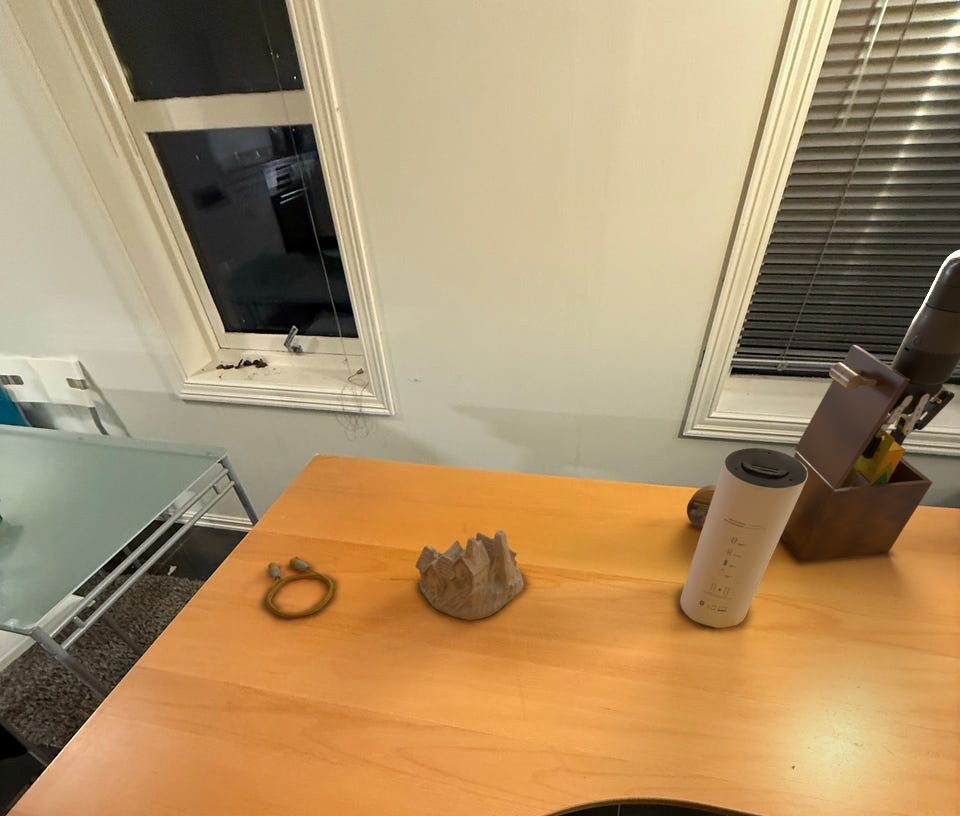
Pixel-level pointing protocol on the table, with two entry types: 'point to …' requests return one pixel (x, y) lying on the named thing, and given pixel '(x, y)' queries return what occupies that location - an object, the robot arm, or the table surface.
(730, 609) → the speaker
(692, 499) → the tin
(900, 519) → the chest
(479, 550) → the ceramic cottage
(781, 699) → the table surface
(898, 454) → the crayon box
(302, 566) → the extension cord
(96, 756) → the table surface
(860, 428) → the lid
